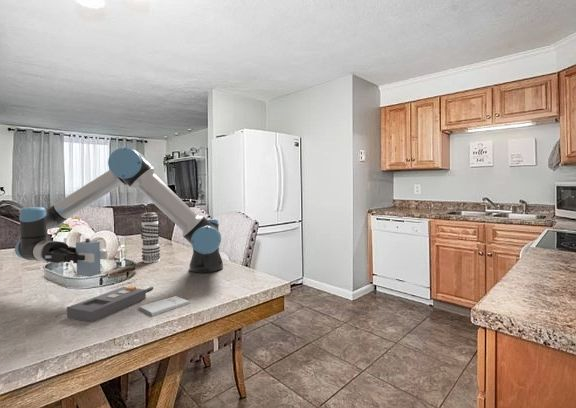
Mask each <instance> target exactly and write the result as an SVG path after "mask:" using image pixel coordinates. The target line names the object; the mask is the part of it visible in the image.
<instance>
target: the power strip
mask: <svg viewBox="0 0 576 408" xmlns="http://www.w3.org/2000/svg"><path fill="white" fill-rule="evenodd" d="M153 289H154V286H150V287H147V288H145V289H143V288H137V287H136V286H131V285H129V286H121V287H119V288H116V289H114V290H110V291H108V292H105V293H103V294H100V295H97V296H94V297H91V298H89V299H86V300H83V301H80V302H77V303H75V304H72V305H70V306H67V307H66V316H67V318H68V319H73V320H79V321H84V322H89V323H93V322H96V321H98V320H100V319H102V318H105V317H107V316H109V315H111V314H113V313H115V312H118V311H120V310H123V309H126V308H128V307H129V306H132V305H134V304H136V303H138V302H141V301H143V300H144V299H146V298H147V294H146V293H147V292H149V291H151V290H153Z"/></svg>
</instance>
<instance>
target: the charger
mask: <svg viewBox="0 0 576 408" xmlns="http://www.w3.org/2000/svg"><path fill="white" fill-rule="evenodd" d="M90 239H91V238H85V240H84V241H79V242H75V247H76V253H77V255H78V253H90V254H94V262H93V263H91V262H83V261H78V260H77V263H76V276H81V277H88V278H89V277H90V278H91V277H94V276H97V275H98V276H99V275H100V274H102V273H101V270H102V269H101V259H100V251H101V250H100V249H101V246H100V241H94V240H93V241H92V240H90Z"/></svg>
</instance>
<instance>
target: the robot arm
mask: <svg viewBox="0 0 576 408" xmlns="http://www.w3.org/2000/svg"><path fill="white" fill-rule="evenodd" d="M107 165H108V169H109V170H108V171H106V172H104V173H102V174H101V175H99V176H98V177H96V178H95V179H93V180H91V181H90V182H88V183H86V184H85V185H83V186H81V187H80V188H78V189H77V190H75V191H74V192H72V193H70V194H69V195H68V196H66V197H64V198H63V199H61V200H59V201H58V202H56V203H55V204H53V205H52V206H50V207H48V208H47V209H46V208H45V207H43V206H36V207H35V206H32V207H29V206H28V207H22V208H20V210H19V217H18V219H19V228H20V229H19V230H20V240H18V242H17V243H16V244H15V247H14V253H15V255H16V256H17V257H18V258H21V259H24V260H28V261H39V262H45V263H46V264H48V263H54V264H59V263H70V262H72V263H73V264H77V260H78V261H83V262H91V263H93V262H94V254H90V253H78V255H77V253H76V246H75V247H73V246H70V245H68V244H67V243H66V242H63V241H55V240H49V239H48V231H47V230H50V229H56V228H58V227H60V226H62V225H63V224H64V223H65V222H66V221H67V220H68V219H70V218H72V217H73V216H75V215H77V214H78V213H79V212H81V211H82V210H85V209H86V208H87V207H89V206H90V205H92V204H94V203H95V202H97V201H99V200H100V199H101V198H103V197H104V196H106V195H108V194H110V193H111V192H112V191H114V190H115V189H117V188H119V187H121V186H127V185H128V186H129V188H131V189H137V190H139V191H140V192H141V193H142V194H143V195H144V196H145V197H146V198H147V199H148V200H149V201H150V202H151V203H153V205H155V206H156V207H157V208H158V209H159V210H160V211H161V212H162V213H163V214H164V215H166V217H167V218H168V219H169V220H170V221H172V223H174V225H176V226H177V228H179V229H180V230H181V232H182V237H183V238H184V239H185V240H186V241H188V243H189V244H190V245H191V247H192V255H191V259H190V261H189V265H188V266H189V271H190V272H192V273H197V272H198V273H203V274H205V272H207V273H214V272H217V270H218V271H221V270H223V269H224V262H223V259H222V256H221V254H220V248H219V247H220V245H221V241H222V236H221V233H220V231H219V226H220V224H219V220H218V219H215V218H211V219H208V218H206V217H205V216H204V215H198V214H196V213H195V211H193V209H192V208H191V207H189V205H188V204H187V203H185V201H183V200H182V199H181V198H180V196H178V195H177V194H176V193H175V192H174V191H173V190H172V189H171V188H170V186H168V185H166V184H165V182H164V181H163V180H162V179H160V178H159V177H158V176H157V174H155V167H154V166H153V165H151V163H150V162H149V161H148V160H147V158H146V157H145V156H144V155H143V154H142V152H138V151H137V150H136V149H134V148H132V147H127V146H126V147H118V148H116V149H114V150H113V151H112V152H111V153H110V155H109V157H108V161H107ZM100 260H108V251H107V250H100ZM220 269H221V270H220ZM213 271H214V272H213Z"/></svg>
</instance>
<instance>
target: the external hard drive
mask: <svg viewBox="0 0 576 408" xmlns="http://www.w3.org/2000/svg"><path fill="white" fill-rule="evenodd" d="M188 304H189V300H187V299H184V298H182V297H179V296H177V295H174V296H172V297H168V298H164V299H161V300H157V301H154V302H150V303H147V304H144V305H140V306H138V310H139V311H141V312H143V313H144V314H147V315H149V316H150V317H154V316H157V315H160V314H162V313H166V312H168V311H171V310H175V309H176V308H180V307H183V306H186V305H188Z"/></svg>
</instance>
